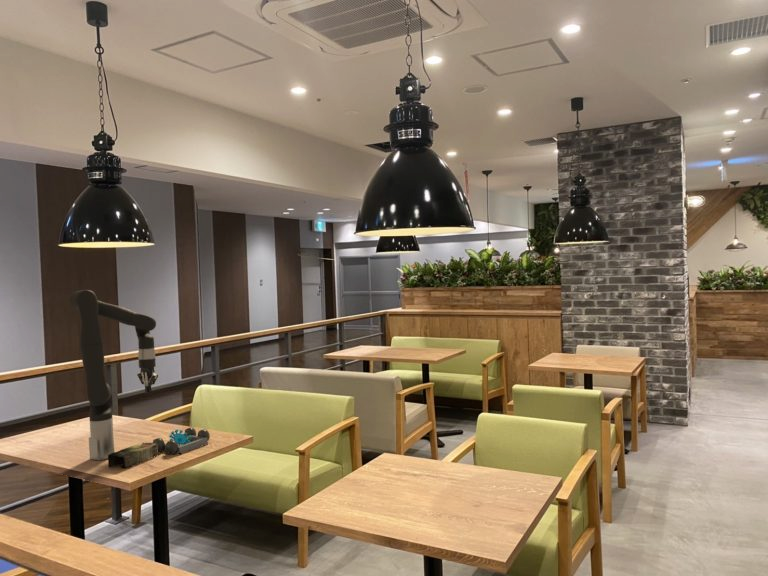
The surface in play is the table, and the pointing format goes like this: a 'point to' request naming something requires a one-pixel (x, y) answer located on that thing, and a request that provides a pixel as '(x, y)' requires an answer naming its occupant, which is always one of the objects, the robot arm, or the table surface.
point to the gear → (180, 437)
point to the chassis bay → (194, 443)
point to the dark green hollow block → (133, 454)
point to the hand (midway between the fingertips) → (148, 393)
